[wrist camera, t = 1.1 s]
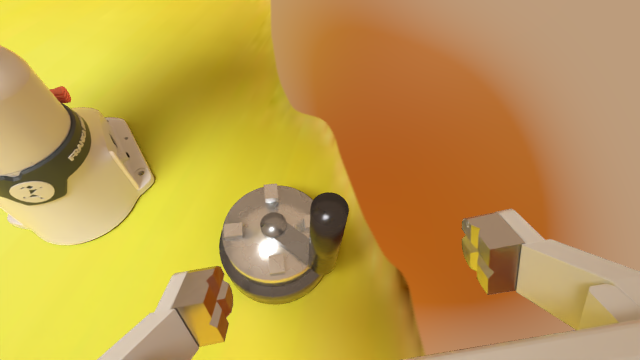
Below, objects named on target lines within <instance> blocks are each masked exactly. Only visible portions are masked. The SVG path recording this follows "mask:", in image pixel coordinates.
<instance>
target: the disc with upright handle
mask: <svg viewBox="0 0 640 360" xmlns="http://www.w3.org/2000/svg"><path fill="white" fill-rule="evenodd" d="M348 212H349V208H348V204H347V202H346V201H345V200H344V198H342V197H341V196H340V195H338V194H335V193H323V194H320V195H318V196H317V197H316V198H315V199H314V200H312V199H311V198H310V197H309V196H307V195H306V194H304V193H303V192H301V191H299V190H297V189H294V188H291V187H286V186H277V184H269V185H264V187H262V188H259V189H256V190H253V191H251V192H249V193H248V194H246V195H245V196H243V197H242V198H241V199H239V200H238V201H237V202H236V203H235V204H234V205H233V207H232V208H231V209H230V211H229V213H228V214H227V216H226V219H225V221H224V225H223V231H222V240H223V245H224V249H225V251H226V254H227V256H228V257H229V259H230V261H231V263H232V265H233V266H234V268H235V269H236V271H237V272H238V273H239V274H240V275H241V276H242V277H244V278H245V279H246V280H248V281H250V282H252V283H254V284H257V285H260V286H265V287H281V286H286V285H289V284H292V283H294V282H296V281H298V280H300V279H302V278H303V277H305V276H306V275H307V274H308V273H309V272H310V271H311V270H313V271H314V272H315V273H317V274H318V275H319V274H328V273H330V272H331V271H332V270H333V269H334V267H335V265H336V261H337V257H338V253H339V249H340V245H341V241H342V237H343V233H344V229H345V225H346V221H347V217H348Z"/></svg>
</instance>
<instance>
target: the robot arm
mask: <svg viewBox="0 0 640 360" xmlns="http://www.w3.org/2000/svg"><path fill="white" fill-rule="evenodd" d="M68 102H71V97H70V95H69V92H68V91H67V89H65V87H63V86H61V87H57V88H55V89H48V87H47V86H46V85H45V84H44V83H43V81H42V80H41V79H40V78H39V77H38V75H37V74H36V73H35V72H34V71H33V69H32V68H31V67H30V66H29V65H28V63H27V62H26V61H25V60H24V59H23V58H21V57H20V56H19V55H17V54H16V53H14V52H13V51H11V50H9V49H7V48H5V47H3V46H0V208H1V209H3V210H4V211H5V212H7V213H8V217H7V219H8V221H9V222H10V223H11V224H12V225H14V226H16V227H19V228H24V229H29V230H31V231H33V232H34V233H35V234H36V235H37V236H39V237H40V238H41V239H43V240H45V241H47V242H49V243H53V244H58V245H74V244H80V243H84V242H87V241H90V240H93V239H96V238H98V237H100V236H102V235H104V234H106V233H107V232H109V231H110V230H112V229H113V228H114V227H116V226H117V225H118V224H119V223H120V222H122V221H123V220H124V218H125V217H126V216H127V215H128V214H129V212H130V211H131V210H132V208H133V206H134V205H135V203H136V201H137V199H138V198H139V197H140V195H141V194H143V193H144V192H145V191H146V190H147V189H148V188H149V187H150V186H151V185H152V184H153V183H154V176H153V174H152V172H151V170H150V168H149V166H148V164H147V162H146V160H145V158H144V156H143V154H142V152H141V150H140V148H139V146H138V144H137V142H136V140H135V138H134V136H133V134H132V132H131V130H130V128H129V126H128V124H127V123H126V122H125V121H124V120H123V119H120V118H110V117H108V118H104V116H103V115H102V114H101V113H100V112H99V111H98V110H96V109H93V108H85V107H80V108H69V107H67V106H66V105H64V104H63V103H68ZM141 174H143V175H141ZM140 175H141V176H140ZM462 230H463V231H464V233H465V234H466V235H465V236H464V238H463V239H462V249H463V253H464V257H465V259H466V262H467V263H468V265H469V266H470V268H471V269H473V270H475V271H477V279H478V281H479V282H480V284H481V286H482V287H483V289H484V290H485V292H486V293H487V294H488V295H489V294H496V293H502V292H509V291H516V292H517V293H519V294H520V295H522V296H524V297H525V298H527V299H528V300H530V301H531V302H533V303H534V304H536V305H538V306H539V307H541V308H542V309H544V310H546V311H547V312H549V313H550V314H552V315H553V316H555V317H557V318H558V319H560V320H561V321H563V322H564V323H566V324H568V325H569V326H571V327H572V328H574V329H575V330H573V331H567V332H562V333H555V334H550V335H544V336H538V337H532V338H526V339H520V340H514V341H508V342H503V343H496V344H490V345H485V346H479V347H473V348H467V349H461V350H455V351H449V352H443V353H437V354H432V355H425V356H419V357H414V358H408V359H402V360H640V271H637V270H634V269H631V268H629V267H626V266H623V265H620V264H618V263H615V262H612V261H609V260H607V259H604V258H601V257H599V256H596V255H593V254H590V253H588V252H585V251H582V250H579V249H576V248H574V247H571V246H568V245H565V244H563V243H560V242H557V241H554V240H552V239H548V240H545V239H544V238H543V237H542V236H541V235H540V234H539V233H538V232H536V231H535V230H534V229H533V228H532V227H531V226H530V225H529V224H528V223H527V222H526V221H525V220H524V219H523V218H522V217H521V216H520V215H519V214H518V213H517V212H516V211H515V210H512V209H507V210H503V211H498V212H495V213H490V214H485V215H480V216H475V217H471V218H465V219H463V221H462ZM223 277H224V273H223V271H222V269H221V267H219V266H214V267H208V268H202V269H196V270H190V271H186V272H180V273H175V274H174V275H173V276H172V277H171V279H170V281H169V283H168V285H167V287H166V289H165V291H164V294H163V296H162V298H161V300H160V302H159V304H158V306H157V308H156V310H155V312H154V313H150V314H149V315H147V316H146V317H145V318H144V319H143V320H142V321H141V322H139V323H138V324H137V325H136V326H135V327H134V328H133V329H132V330H130V331H129V332H128V333H127V334H126V335H125V336H124V337H122V338H121V339H120V340H119V341H118V342H117V343H116V344H114V345H113V346H112V347H111V348H110V349H109V350H108V351H106V352H105V353H104V354H103V355H102V356H101V357H100V358H98V359H97V360H191V359H192V357H193V356H194V355H195V353H196V352H197V351H198V349H199V347H201V346H206V345H211V344H216V343H220V342H224V341H225V337H226V333H227V329H228V324H229V323H228V321H227V319H226V317H227V316H228V315H229V314H230V313H231V311H232V307H233V294H232V290H231V287H230V285H229V284H228V283H227V282H225V281H223Z"/></svg>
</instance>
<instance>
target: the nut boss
mask: <svg viewBox="0 0 640 360" xmlns="http://www.w3.org/2000/svg"><path fill="white" fill-rule="evenodd" d="M222 231H223V230H222ZM219 249H220V257H221V261H222V264H223V267H224V269H225V270H226V272H227V274H228V275H229V277H230V279H231V280H232V282H233V283H234V285H235V286H236V287H237V288H238V289H239V290H240V291H241V292H242V293H243V294H244V295H246V296H247V297H249V298H251V299H253V300H255V301H258V302H260V303H265V304H284V303H289V302H292V301H295V300H298V299H299V298H301V297H303V296H305V295H306V294H308V293H309V292H310V291H311V290H313V289H314V288H315V287H316V285H317V284H318V283H319V282H320V280H321V279H322V277H323V275H324V274H319V275H318V274H317V273H315V272H314V271H313V270H311V271H310V272H309V273H308V274H307V275H306V276H305V277H303V278H302V279H300V280H298V281H296V282H294V283H292V284H289V285H286V286H281V287H265V286H260V285H257V284H254V283H252V282H250V281H248V280H246V279H245V278H244V277H242V276H241V275H240V274H239V273H238V272H237V271H236V269H235V268H234V266H233V265H232V263H231V261H230V259H229V257H228V256H227V254H226V251H225V249H224V245H223V240H222V233H221V237H220V244H219Z"/></svg>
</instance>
